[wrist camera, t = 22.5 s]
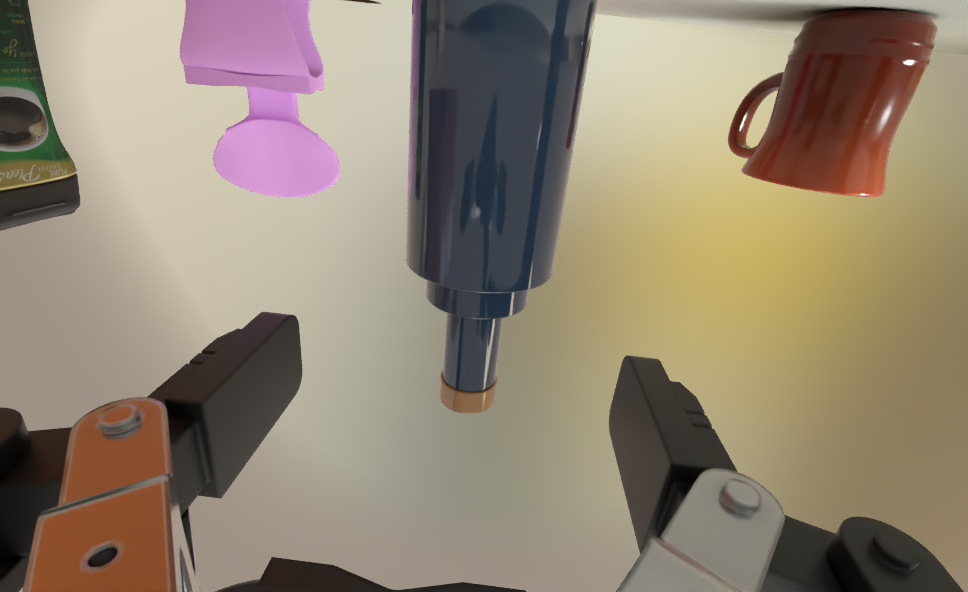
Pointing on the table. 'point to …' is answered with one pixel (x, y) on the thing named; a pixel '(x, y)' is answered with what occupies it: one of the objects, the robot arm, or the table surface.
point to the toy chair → (261, 91)
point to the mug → (837, 102)
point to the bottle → (489, 166)
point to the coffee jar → (28, 131)
